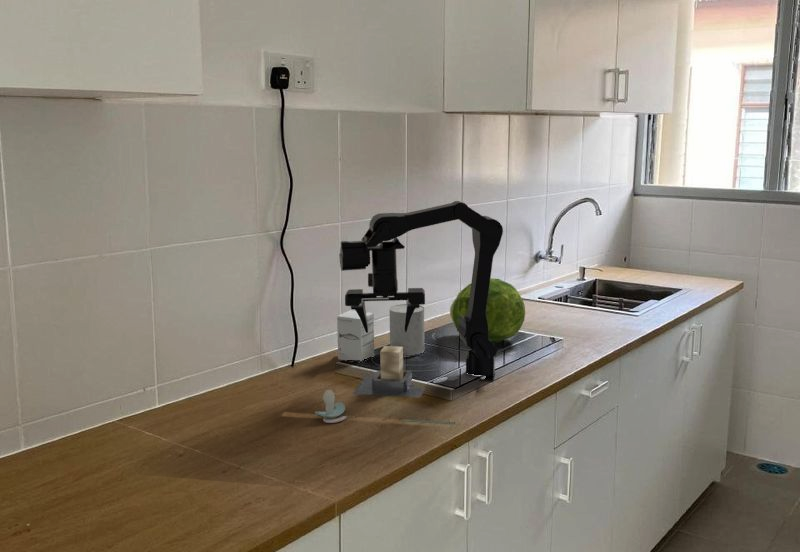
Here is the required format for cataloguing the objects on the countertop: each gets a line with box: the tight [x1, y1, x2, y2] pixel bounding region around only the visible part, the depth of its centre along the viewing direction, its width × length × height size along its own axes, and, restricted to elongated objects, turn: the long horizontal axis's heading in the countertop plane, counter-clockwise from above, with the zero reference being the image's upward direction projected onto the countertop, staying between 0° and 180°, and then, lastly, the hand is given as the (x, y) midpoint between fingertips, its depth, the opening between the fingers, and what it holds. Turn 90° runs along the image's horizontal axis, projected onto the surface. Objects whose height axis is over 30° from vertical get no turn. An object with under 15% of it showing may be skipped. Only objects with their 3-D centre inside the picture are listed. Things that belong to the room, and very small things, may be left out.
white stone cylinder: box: [388, 303, 425, 355], centre depth 220 cm, size 10×10×12 cm
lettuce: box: [449, 278, 526, 345], centre depth 228 cm, size 19×23×18 cm
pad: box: [402, 418, 456, 426], centre depth 177 cm, size 11×11×1 cm
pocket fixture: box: [351, 369, 426, 399], centre depth 192 cm, size 16×14×3 cm
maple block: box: [379, 345, 404, 380], centre depth 192 cm, size 4×4×9 cm
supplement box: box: [336, 309, 375, 361], centre depth 213 cm, size 7×7×13 cm
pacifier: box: [314, 389, 349, 424], centre depth 175 cm, size 7×6×6 cm
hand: (386, 331), depth 193 cm, fingers open, 9 cm apart
